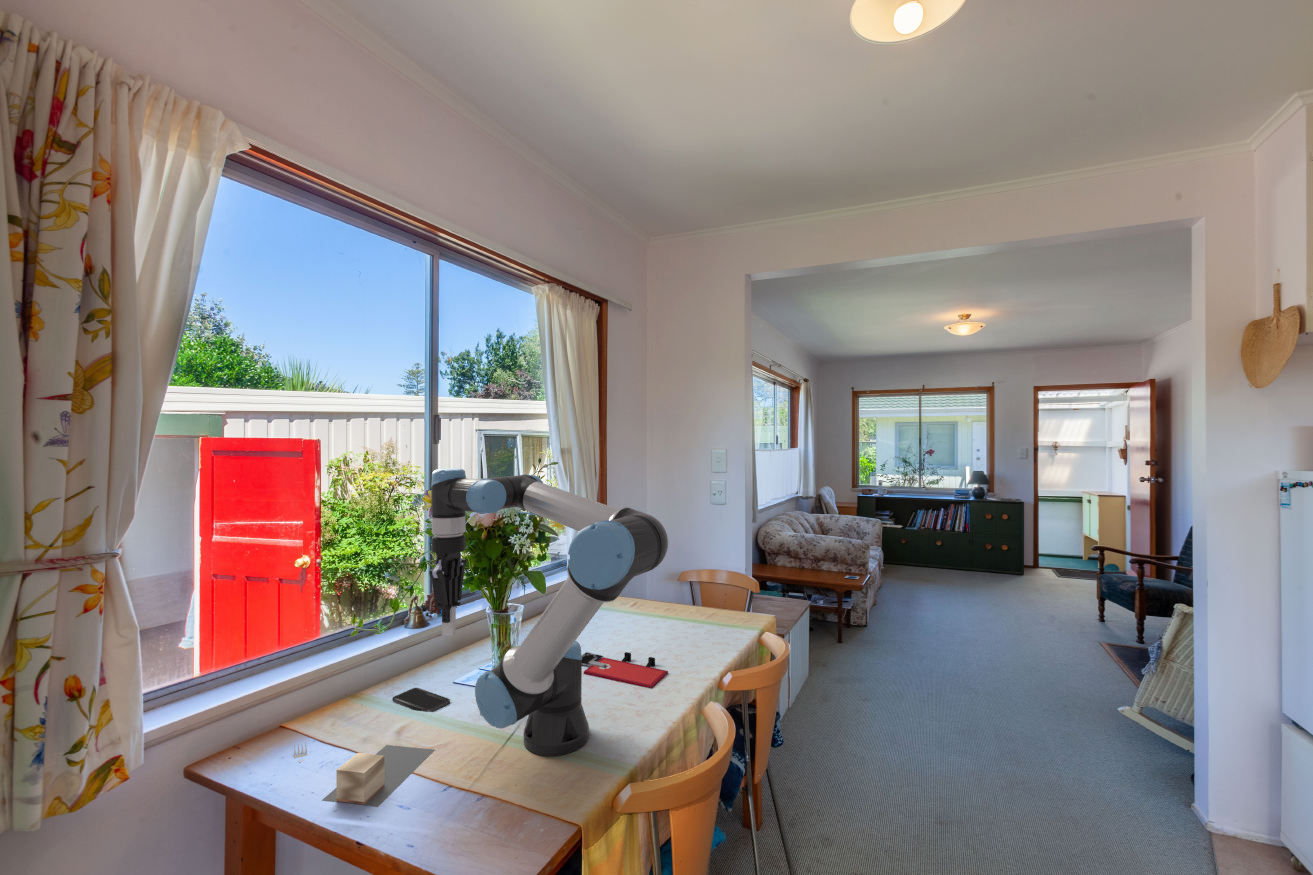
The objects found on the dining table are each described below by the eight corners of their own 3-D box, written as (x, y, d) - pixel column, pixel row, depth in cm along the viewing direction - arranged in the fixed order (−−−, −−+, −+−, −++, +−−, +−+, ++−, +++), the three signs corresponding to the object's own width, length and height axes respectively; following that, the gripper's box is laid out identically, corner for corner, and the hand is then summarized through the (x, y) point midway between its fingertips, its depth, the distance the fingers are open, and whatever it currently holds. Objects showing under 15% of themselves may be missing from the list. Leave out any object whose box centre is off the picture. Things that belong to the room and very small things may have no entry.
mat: (435, 752, 128) (435, 749, 128) (377, 809, 109) (377, 806, 109) (386, 747, 130) (386, 744, 130) (321, 803, 110) (321, 799, 110)
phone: (426, 711, 146) (390, 697, 153) (426, 716, 146) (390, 701, 153) (452, 699, 152) (416, 686, 160) (452, 703, 152) (416, 690, 160)
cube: (364, 772, 109) (364, 803, 109) (384, 755, 115) (384, 785, 115) (336, 769, 110) (336, 800, 110) (357, 752, 116) (357, 781, 116)
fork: (295, 790, 115) (295, 780, 115) (293, 753, 128) (293, 744, 128) (310, 785, 117) (310, 776, 116) (306, 750, 130) (306, 741, 130)
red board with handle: (589, 652, 187) (562, 670, 174) (589, 644, 187) (562, 661, 173) (673, 670, 174) (651, 691, 161) (673, 661, 174) (651, 681, 160)
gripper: (448, 529, 141) (448, 624, 141) (418, 538, 128) (418, 643, 128) (476, 530, 140) (476, 626, 140) (449, 539, 127) (449, 645, 127)
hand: (448, 634), depth 134 cm, fingers closed
